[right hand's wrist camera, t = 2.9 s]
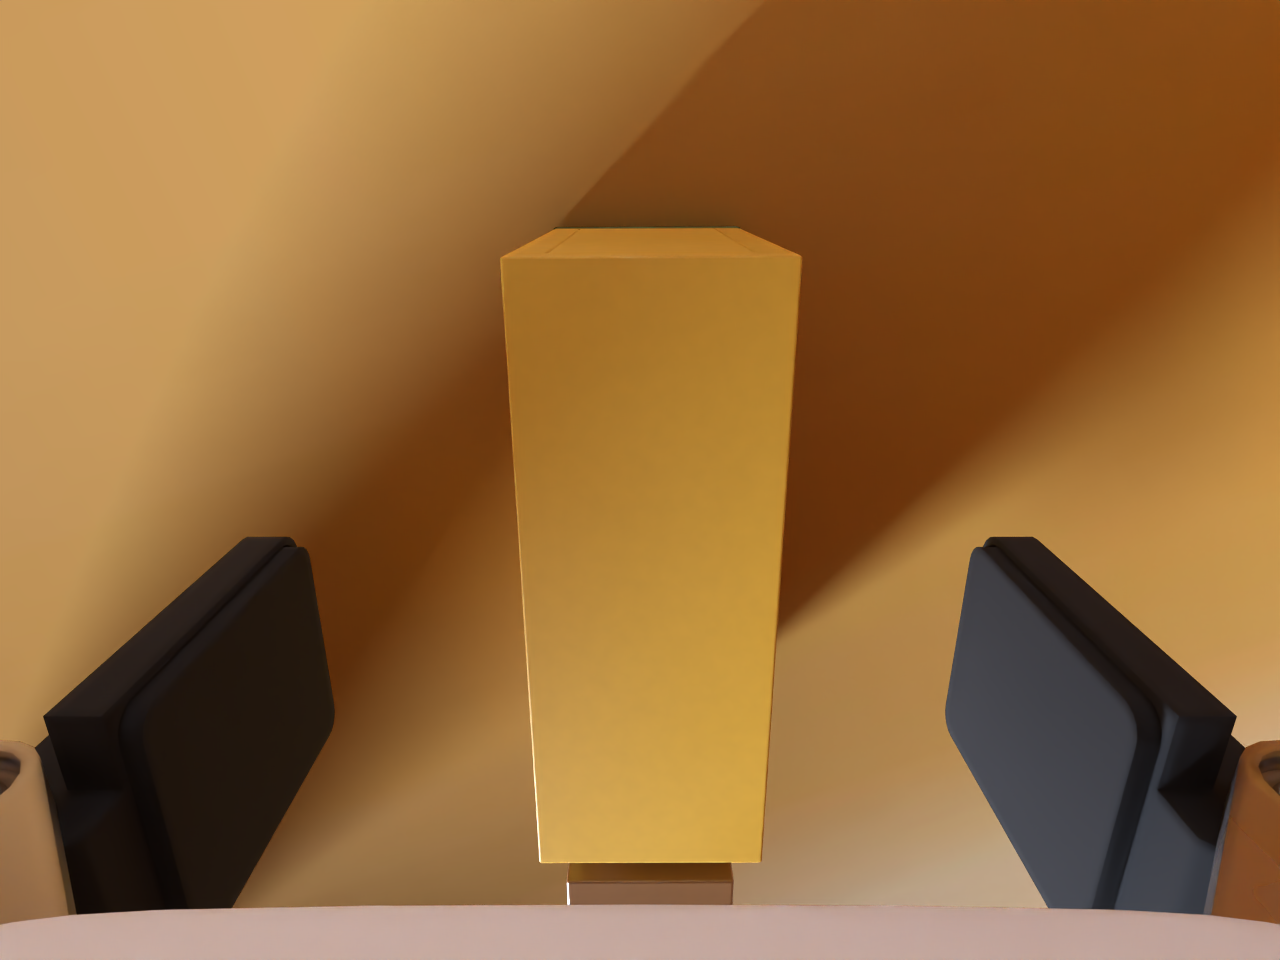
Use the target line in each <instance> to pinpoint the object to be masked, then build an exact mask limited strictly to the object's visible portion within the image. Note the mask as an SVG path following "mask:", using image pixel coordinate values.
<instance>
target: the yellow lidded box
mask: <svg viewBox="0 0 1280 960" xmlns="http://www.w3.org/2000/svg"><path fill="white" fill-rule="evenodd" d="M500 265H501V280H502V295H503V310H504V326H505V341H506V356H507V371H508V387H509V402H510V417H511V433H512V448H513V463H514V478H515V494H516V509H517V524H518V539H519V555H520V570H521V585H522V600H523V616H524V631H525V646H526V661H527V677H528V692H529V707H530V722H531V738H532V753H533V768H534V783H535V799H536V814H537V829H538V845H539V860H540V863H687V862H761V860H762V847H763V832H764V817H765V802H766V787H767V773H768V758H769V743H770V728H771V713H772V699H773V684H774V669H775V654H776V639H777V625H778V610H779V595H780V580H781V565H782V551H783V536H784V521H785V506H786V491H787V477H788V462H789V447H790V432H791V417H792V402H793V388H794V373H795V358H796V343H797V328H798V314H799V299H800V284H801V269H802V256H800V255H798V254H796V253H794V252H791V251H789V250H787V249H784V248H782V247H780V246H778V245H775V244H773V243H771V242H769V241H766V240H764V239H762V238H760V237H757V236H755V235H753V234H751V233H748V232H746V231H744V230H742V229H740V227H737V226H723V227H556V228H554V230H552V231H550V232H549V233H547V234H545V235H543V236H541V237H539V238H537V239H535V240H533V241H531V242H530V243H528V244H526V245H524V246H522V247H520V248H518V249H516V250H514V251H512V252H511V253H508V254H506V255H504V256H502V257H501V258H500Z"/></svg>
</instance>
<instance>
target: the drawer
mask: <svg viewBox="0 0 1280 960" xmlns="http://www.w3.org/2000/svg"><path fill="white" fill-rule="evenodd" d="M733 884H734V880H733V873H732V865H731V862H687V863H569V864H568V873H567V900H568V905H732V903H733Z"/></svg>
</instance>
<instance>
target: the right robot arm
mask: <svg viewBox="0 0 1280 960" xmlns="http://www.w3.org/2000/svg"><path fill="white" fill-rule="evenodd" d="M334 715H335V709H334V701H333V695H332V689H331V683H330V677H329V671H328V665H327V659H326V653H325V647H324V641H323V635H322V629H321V623H320V617H319V611H318V605H317V599H316V593H315V586H314V580H313V574H312V568H311V562H310V557H309V554H308V552H307V550H306V549H305V548H304V547H297V546H296V544H295V542H294V540H292V539H291V538H290V537H246V538H245V539H243V540H242V541H240V542H239V543H238V544H237V545H236V546H235V547H234V548H233V549H231V550H230V551H229V552H228V553H227V554H226V555H225V556H224V557H222V558H221V559H220V560H219V561H218V562H217V563H216V564H215V565H213V566H212V567H211V568H210V569H209V570H208V571H207V572H205V573H204V574H203V575H202V576H201V577H200V578H199V579H198V580H196V581H195V582H194V583H193V584H192V585H191V586H190V587H189V588H187V589H186V590H185V591H184V592H183V593H182V594H181V595H180V596H178V597H177V598H176V599H175V600H174V601H173V602H172V603H171V604H169V605H168V606H167V607H166V608H165V609H164V610H163V611H162V612H160V613H159V614H158V615H157V616H156V617H155V618H154V619H152V620H151V621H150V622H149V623H148V624H147V625H146V626H145V627H143V628H142V629H141V630H140V631H139V632H138V633H137V634H136V635H134V636H133V637H132V638H131V639H130V640H129V641H128V642H127V643H125V644H124V645H123V646H122V647H121V648H120V649H119V650H118V651H116V652H115V653H114V654H113V655H112V656H111V657H110V658H108V659H107V660H106V661H105V662H104V663H103V664H102V665H101V666H99V667H98V668H97V669H96V670H95V671H94V672H93V673H92V674H90V675H89V676H88V677H87V678H86V679H85V680H84V681H83V682H81V683H80V684H79V685H78V686H77V687H76V688H75V689H74V690H72V691H71V692H70V693H69V694H68V695H67V696H66V697H64V698H63V699H62V700H61V701H60V702H59V703H58V704H57V705H55V706H54V707H53V708H52V709H51V710H50V711H49V712H48V713H46V714H45V715H44V716H43V717H44V721H45V724H46V727H47V730H48V733H49V735H48V736H47V737H46V738H45V739H44V740H43V741H42V742H41V743H40V744H39V745H38V746H36V747H35V748H34V747H32V746H30V745H27V744H25V743H22V742H20V741H4V740H0V960H1280V740H1276V741H1260V742H1258V743H1255V744H1253V745H1250V746H1248V747H1246V748H1245V747H1244V746H1242V745H1241V744H1240V743H1239V742H1238V741H1237V740H1236V739H1235V738H1234V737H1233V736H1232V735H1231V733H1232V730H1233V727H1234V724H1235V721H1236V717H1237V716H1236V715H1235V714H1234V713H1232V712H1231V711H1230V710H1229V709H1228V708H1227V707H1226V706H1225V705H1223V704H1222V703H1221V702H1220V701H1219V700H1218V699H1217V698H1216V697H1214V696H1213V695H1212V694H1211V693H1210V692H1209V691H1208V690H1206V689H1205V688H1204V687H1203V686H1202V685H1201V684H1200V683H1199V682H1197V681H1196V680H1195V679H1194V678H1193V677H1192V676H1191V675H1190V674H1188V673H1187V672H1186V671H1185V670H1184V669H1183V668H1182V667H1181V666H1179V665H1178V664H1177V663H1176V662H1175V661H1174V660H1173V659H1172V658H1170V657H1169V656H1168V655H1167V654H1166V653H1165V652H1164V651H1162V650H1161V649H1160V648H1159V647H1158V646H1157V645H1156V644H1155V643H1153V642H1152V641H1151V640H1150V639H1149V638H1148V637H1147V636H1146V635H1144V634H1143V633H1142V632H1141V631H1140V630H1139V629H1138V628H1137V627H1135V626H1134V625H1133V624H1132V623H1131V622H1130V621H1129V620H1128V619H1126V618H1125V617H1124V616H1123V615H1122V614H1121V613H1120V612H1119V611H1117V610H1116V609H1115V608H1114V607H1113V606H1112V605H1111V604H1109V603H1108V602H1107V601H1106V600H1105V599H1104V598H1103V597H1102V596H1100V595H1099V594H1098V593H1097V592H1096V591H1095V590H1094V589H1093V588H1091V587H1090V586H1089V585H1088V584H1087V583H1086V582H1085V581H1084V580H1082V579H1081V578H1080V577H1079V576H1078V575H1077V574H1076V573H1075V572H1073V571H1072V570H1071V569H1070V568H1069V567H1068V566H1067V565H1065V564H1064V563H1063V562H1062V561H1061V560H1060V559H1059V558H1058V557H1056V556H1055V555H1054V554H1053V553H1052V552H1051V551H1050V550H1049V549H1047V548H1046V547H1045V546H1044V545H1043V544H1042V543H1041V542H1040V541H1038V540H1037V539H1035V538H1034V537H990V538H989V539H988V540H986V542H985V544H984V546H983V547H976V548H975V549H974V550H973V552H972V554H971V557H970V562H969V568H968V574H967V580H966V586H965V593H964V599H963V605H962V611H961V617H960V623H959V629H958V635H957V641H956V647H955V653H954V659H953V665H952V671H951V677H950V683H949V689H948V695H947V701H946V709H945V715H946V723H947V727H948V731H949V733H950V735H951V737H952V739H953V741H954V742H955V744H956V746H957V748H958V749H959V751H960V753H961V755H962V757H963V758H964V760H965V762H966V764H967V765H968V767H969V769H970V771H971V772H972V774H973V776H974V778H975V779H976V781H977V783H978V785H979V787H980V788H981V790H982V792H983V794H984V795H985V797H986V799H987V801H988V802H989V804H990V806H991V808H992V809H993V811H994V813H995V815H996V817H997V818H998V820H999V822H1000V824H1001V825H1002V827H1003V829H1004V831H1005V832H1006V834H1007V836H1008V838H1009V839H1010V841H1011V843H1012V845H1013V847H1014V848H1015V850H1016V852H1017V854H1018V855H1019V857H1020V859H1021V861H1022V862H1023V864H1024V866H1025V868H1026V869H1027V871H1028V873H1029V875H1030V877H1031V878H1032V880H1033V882H1034V884H1035V885H1036V887H1037V889H1038V891H1039V892H1040V894H1041V896H1042V898H1043V899H1044V901H1045V903H1046V905H1047V907H1048V908H998V907H947V906H840V905H440V906H334V907H282V908H232V907H233V905H234V903H235V901H236V899H237V898H238V896H239V894H240V892H241V891H242V889H243V887H244V885H245V884H246V882H247V880H248V878H249V877H250V875H251V873H252V871H253V869H254V868H255V866H256V864H257V862H258V861H259V859H260V857H261V855H262V854H263V852H264V850H265V848H266V847H267V845H268V843H269V841H270V839H271V838H272V836H273V834H274V832H275V831H276V829H277V827H278V825H279V824H280V822H281V820H282V818H283V817H284V815H285V813H286V811H287V809H288V808H289V806H290V804H291V802H292V801H293V799H294V797H295V795H296V794H297V792H298V790H299V788H300V787H301V785H302V783H303V781H304V779H305V778H306V776H307V774H308V772H309V771H310V769H311V767H312V765H313V764H314V762H315V760H316V758H317V757H318V755H319V753H320V751H321V749H322V748H323V746H324V744H325V742H326V741H327V739H328V737H329V735H330V733H331V731H332V727H333V723H334Z"/></svg>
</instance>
